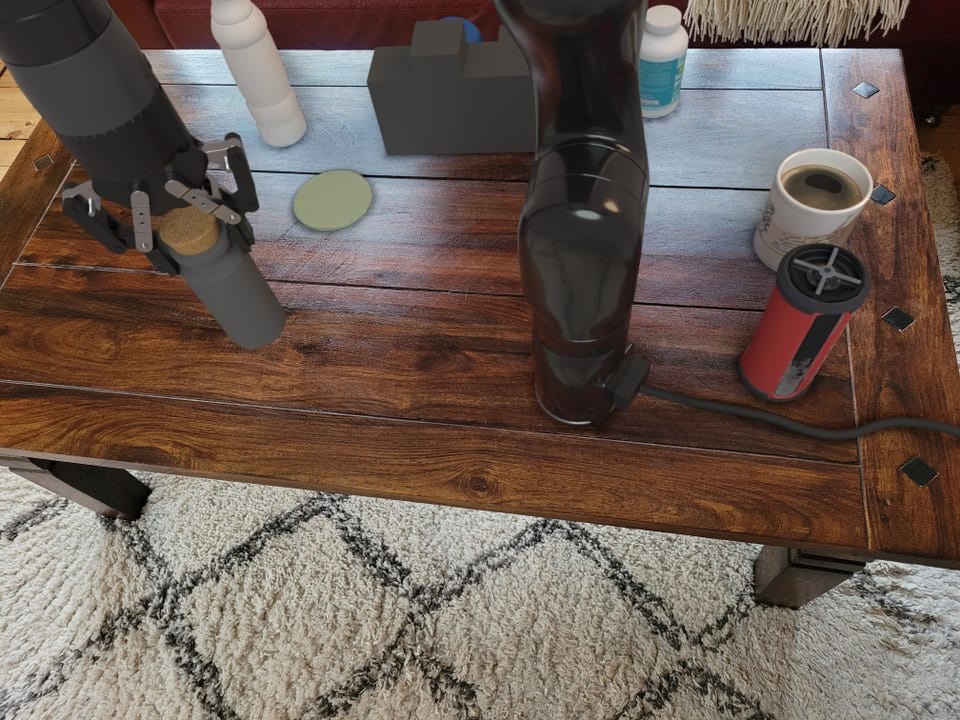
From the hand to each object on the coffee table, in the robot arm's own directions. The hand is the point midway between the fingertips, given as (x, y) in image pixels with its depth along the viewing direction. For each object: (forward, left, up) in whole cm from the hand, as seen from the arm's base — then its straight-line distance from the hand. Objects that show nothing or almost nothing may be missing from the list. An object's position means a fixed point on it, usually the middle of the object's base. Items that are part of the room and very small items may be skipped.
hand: (211, 256), depth 59 cm
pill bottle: (-12, -63, -25) cm, 68 cm away
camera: (+9, -49, -25) cm, 55 cm away
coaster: (+17, -25, -24) cm, 39 cm away
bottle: (0, 0, -11) cm, 11 cm away
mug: (-39, -49, -25) cm, 67 cm away
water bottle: (+33, -32, -25) cm, 52 cm away
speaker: (-44, -30, -25) cm, 59 cm away
